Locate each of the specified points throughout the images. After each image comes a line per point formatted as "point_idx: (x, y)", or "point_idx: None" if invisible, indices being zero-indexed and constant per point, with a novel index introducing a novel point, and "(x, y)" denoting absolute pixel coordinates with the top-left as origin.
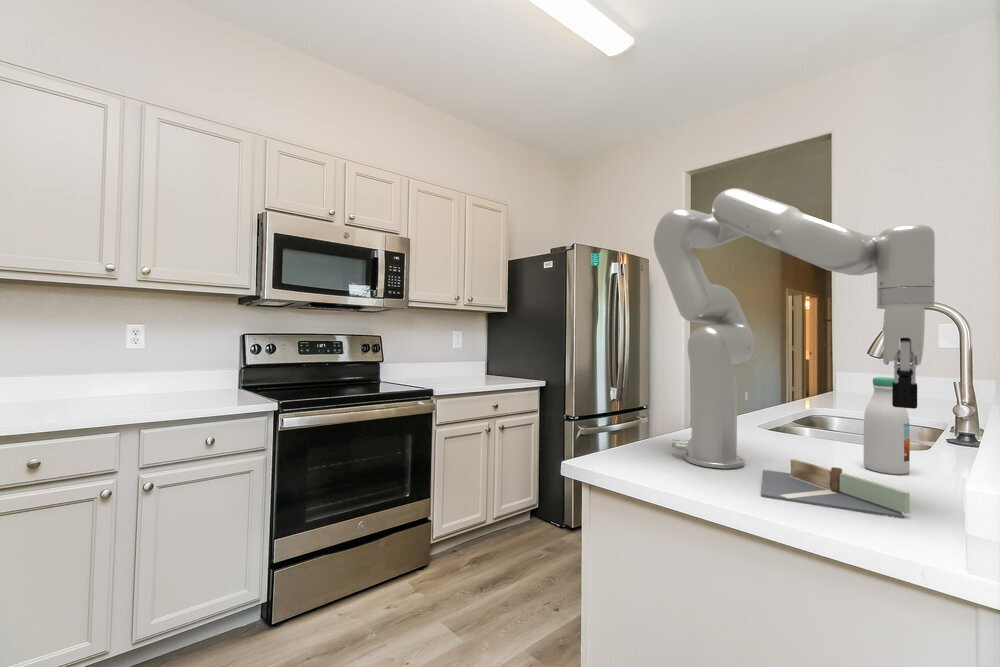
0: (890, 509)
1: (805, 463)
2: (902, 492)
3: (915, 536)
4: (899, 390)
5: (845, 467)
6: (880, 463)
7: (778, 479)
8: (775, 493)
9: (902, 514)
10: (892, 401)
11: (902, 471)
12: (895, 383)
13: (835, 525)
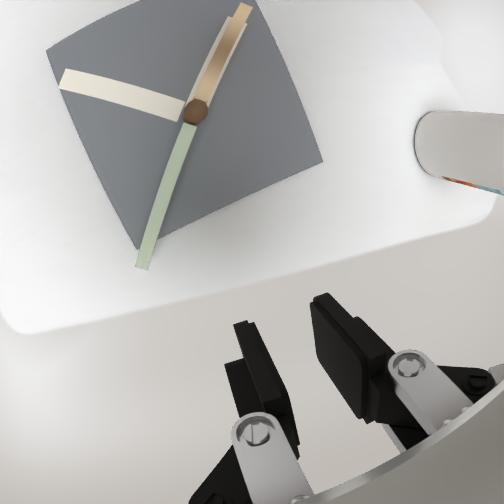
0: None
1: (226, 35)
2: (136, 261)
3: (69, 284)
4: (237, 403)
5: (407, 85)
6: (424, 141)
7: (183, 11)
8: (70, 58)
9: None
10: (237, 335)
11: (427, 171)
12: (239, 423)
13: (11, 200)
